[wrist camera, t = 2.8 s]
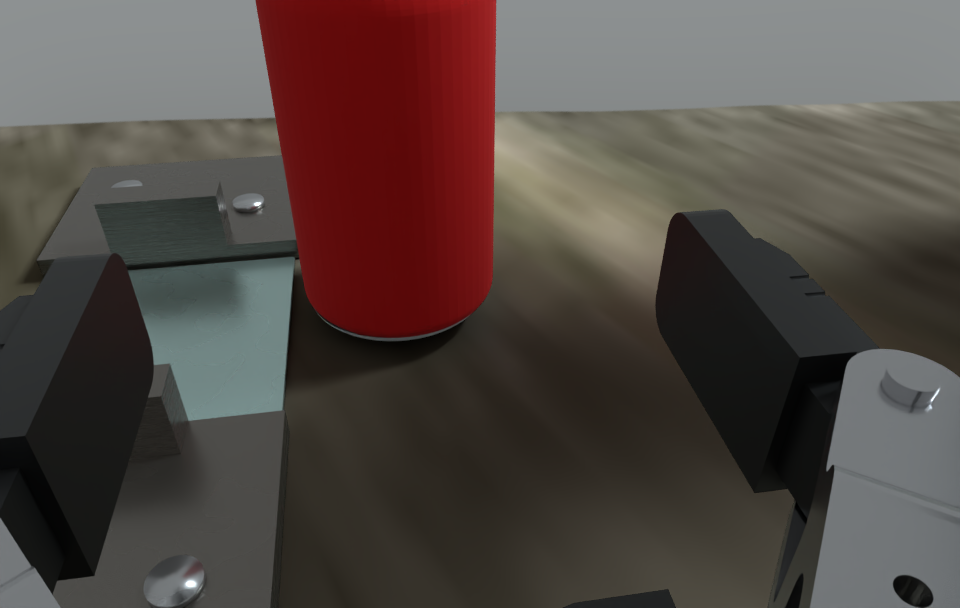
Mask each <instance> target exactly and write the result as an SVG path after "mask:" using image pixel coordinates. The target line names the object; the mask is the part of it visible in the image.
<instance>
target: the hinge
mask: <svg viewBox="0 0 960 608" xmlns="http://www.w3.org/2000/svg"><path fill="white" fill-rule="evenodd" d="M108 253H117V254H119V255H120V256H121V257H122V259H123V260H124V262H125V264H126V267H127V270H128V273H129V276H130V279H131V282H132V285H133V288H134V291H135V294H136V298H137V301H138V304H139V307H140V310H141V313H142V316H143V319H144V322H145V326H146V329H147V332H148V335H149V338H150V342H151V346H152V351H153V360H154V374H153V382H152V386H151V389H150V393H149V396H148V399H147V403H146V406H145V409H144V413H143V416H142V419H141V423H140V426H139V429H138V433H137V436H136V439H135V443H134V446H133V449H132V453H131V456H130V459H129V463H128V466H127V469H126V473H125V476H124V479H123V482H122V486H121V489H120V492H119V496H118V499H117V502H116V506H115V509H114V512H113V516H112V519H111V522H110V526H109V529H108V532H107V536H106V539H105V542H104V546H103V549H102V552H101V556H100V559H99V562H98V566H97V569H96V572H95V576H91V577H84V578H76V579H68V580H60V581H57V583H56V586H55V589H54V592H53V597H54V598H55V600H56V601H57V603H58V604H59V606H60V607H61V608H278V599H279V584H280V568H281V553H282V538H283V522H284V507H285V492H286V476H287V461H288V446H289V427H288V422H287V417H286V413H285V410H284V400H285V387H286V374H287V361H288V347H289V334H290V321H291V308H292V295H293V282H294V269H295V258H299V252H298V246H297V240H296V235H295V229H294V223H293V217H292V211H291V205H290V199H289V194H288V188H287V182H286V176H285V170H284V164H283V158H282V155H281V156H266V157H251V158H236V159H220V160H205V161H190V162H175V163H160V164H145V165H130V166H115V167H100V168H92V169H91V171H90V173H89V174H88V176H87V178H86V179H85V181H84V182H83V184H82V186H81V187H80V189H79V191H78V192H77V194H76V196H75V197H74V199H73V201H72V202H71V204H70V206H69V207H68V209H67V211H66V212H65V214H64V216H63V217H62V219H61V221H60V222H59V224H58V226H57V227H56V229H55V231H54V232H53V234H52V236H51V237H50V239H49V241H48V242H47V244H46V246H45V247H44V249H43V251H42V252H41V254H40V256H39V257H38V259H37V263H38V265H39V268H40V270H41V272H42V275H43V277H45V275H46V273H47V272H48V270H49V268H50V266H51V265H52V263H53V262H54V260H55V259H56V258H58V257H67V256H81V255H94V254H108Z"/></svg>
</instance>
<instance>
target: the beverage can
mask: <svg viewBox="0 0 960 608" xmlns="http://www.w3.org/2000/svg"><path fill="white" fill-rule="evenodd" d="M256 6H257V12H258V18H259V23H260V29H261V35H262V41H263V46H264V53H265V58H266V65H267V70H268V76H269V82H270V87H271V93H272V99H273V106H274V111H275V117H276V123H277V129H278V135H279V141H280V147H281V152H282V158H283V164H284V170H285V176H286V182H287V188H288V194H289V199H290V205H291V211H292V217H293V223H294V229H295V235H296V240H297V246H298V252H299V258H300V264H301V270H302V276H303V281H304V287H305V291H306V295H307V297H308V299H309V301H310V303H311V305H312V306H313V308H314V310H315V311H316V313H317V314H318V315H319V316H320V317H321V318H322V319H323V320H324V321H325V322H326V323H328V324H329V325H330V326H332V327H334V328H335V329H337V330H339V331H342V332H344V333H347V334H349V335H352V336H356V337H359V338H364V339H369V340H377V341H405V340H413V339H419V338H424V337H428V336H431V335H435V334H438V333H440V332H443V331H445V330H448V329H450V328H452V327H454V326H455V325H457V324H459V323H460V322H462V321H463V320H465V319H466V318H467V317H468V316H470V315H471V314H472V313H473V312H474V311H475V310H476V309H477V308H478V307H479V306H480V305H481V304H482V302H483V301H484V300H485V298H486V296H487V294H488V293H489V290H490V287H491V284H492V278H493V213H494V133H495V54H496V49H495V47H496V0H256Z"/></svg>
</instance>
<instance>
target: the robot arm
mask: <svg viewBox="0 0 960 608" xmlns="http://www.w3.org/2000/svg"><path fill="white" fill-rule="evenodd" d="M656 318H657V323H658V327H659V330H660V333H661V335H662V337H663V339H664V341H665V342H666V344H667V346H668V347H669V349H670V351H671V352H672V354H673V356H674V357H675V359H676V361H677V363H678V364H679V366H680V368H681V369H682V371H683V373H684V374H685V376H686V378H687V379H688V381H689V383H690V385H691V386H692V388H693V390H694V391H695V393H696V395H697V396H698V398H699V400H700V401H701V403H702V405H703V407H704V408H705V410H706V412H707V413H708V415H709V417H710V418H711V420H712V422H713V423H714V425H715V427H716V429H717V430H718V432H719V434H720V435H721V437H722V439H723V440H724V442H725V444H726V445H727V447H728V449H729V451H730V452H731V454H732V456H733V457H734V459H735V461H736V462H737V464H738V466H739V467H740V469H741V471H742V473H743V474H744V476H745V478H746V479H747V481H748V483H749V484H750V486H751V488H752V489H753V491H754V493H759V492H767V491H775V490H782V489H788V490H789V491H790V493H791V494H792V496H793V497H794V499H795V501H794V503H793V506H792V509H791V511H790V514H789V517H788V521H787V525H786V529H785V533H784V538H783V542H782V546H781V551H780V555H779V559H778V563H777V568H776V572H775V576H774V581H773V585H772V589H771V593H770V598H769V602H768V606H767V608H960V377H958V376H957V375H956V374H954V373H953V372H952V371H950V370H949V369H947V368H946V367H944V366H942V365H940V364H938V363H936V362H934V361H932V360H930V359H927V358H925V357H923V356H919V355H916V354H913V353H909V352H905V351H900V350H893V349H880V348H879V347H878V346H877V345H876V344H875V343H874V342H873V341H872V340H871V339H870V338H869V337H868V336H867V335H866V334H865V333H864V332H863V331H862V330H861V328H860V327H859V326H858V325H857V324H856V323H855V322H854V321H853V320H852V319H851V318H850V317H849V316H848V315H847V314H846V313H845V312H844V311H843V310H842V309H841V308H840V307H839V306H838V305H837V304H836V302H835V301H834V300H833V299H832V298H831V297H830V296H825V291H824V290H823V289H822V288H821V287H820V286H819V285H818V284H817V283H816V282H815V281H814V280H813V279H809V274H808V273H807V272H806V271H805V270H804V269H803V268H802V267H801V266H800V265H799V264H798V263H797V262H796V261H795V260H794V259H793V258H792V257H791V256H790V255H789V254H787V253H786V252H784V251H782V250H780V249H778V248H777V247H775V246H773V245H771V244H770V243H768V242H766V241H764V240H762V239H761V238H756V239H754V238H753V237H752V236H751V235H750V234H749V233H748V232H747V231H746V229H745V228H744V227H743V226H742V225H741V224H740V223H739V222H738V221H737V220H736V219H735V217H734V216H733V215H732V214H731V213H730V212H729V211H727V210H724V209H720V210H707V211H693V212H680V213H676V214H675V215H674V216H673V217H672V219H671V221H670V224H669V227H668V232H667V238H666V244H665V249H664V255H663V260H662V266H661V272H660V277H659V283H658V289H657V294H656ZM153 374H154V360H153V351H152V346H151V342H150V338H149V335H148V332H147V329H146V326H145V322H144V319H143V316H142V313H141V310H140V307H139V304H138V301H137V298H136V294H135V291H134V288H133V285H132V282H131V279H130V276H129V273H128V270H127V267H126V264H125V262H124V260H123V259H122V257H121V256H120V255H119V254H117V253H108V254H94V255H81V256H67V257H58V258H56V259H55V260H54V262H53V263H52V265H51V266H50V268H49V270H48V272H47V273H46V275H45V277H44V278H43V280H42V282H41V284H40V285H39V287H38V289H37V290H36V292H35V294H34V295H27V296H19V297H17V298H16V299H15V300H14V301H12V302H11V303H10V304H8V305H7V306H6V307H5V308H3V309H2V310H1V311H0V608H61V607H60V606H59V604H58V603H57V601H56V600H55V598H54V597H53V592H54V589H55V586H56V583H57V581H60V580H68V579H76V578H84V577H91V576H95V572H96V569H97V566H98V562H99V559H100V556H101V552H102V549H103V546H104V542H105V539H106V536H107V532H108V529H109V526H110V522H111V519H112V516H113V512H114V509H115V506H116V502H117V499H118V496H119V492H120V489H121V486H122V482H123V479H124V476H125V473H126V469H127V466H128V463H129V459H130V456H131V453H132V449H133V446H134V443H135V439H136V436H137V433H138V429H139V426H140V423H141V419H142V416H143V413H144V409H145V406H146V403H147V399H148V396H149V393H150V389H151V386H152V382H153ZM563 608H676V607H675V604H674V602H673V600H672V597H671V595H670V592H669V590H668V589H666V590H659V591H653V592H646V593H639V594H632V595H625V596H618V597H611V598H605V599H598V600H591V601H584V602H577V603H573V604H571V605H568V606H566V607H563Z"/></svg>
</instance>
